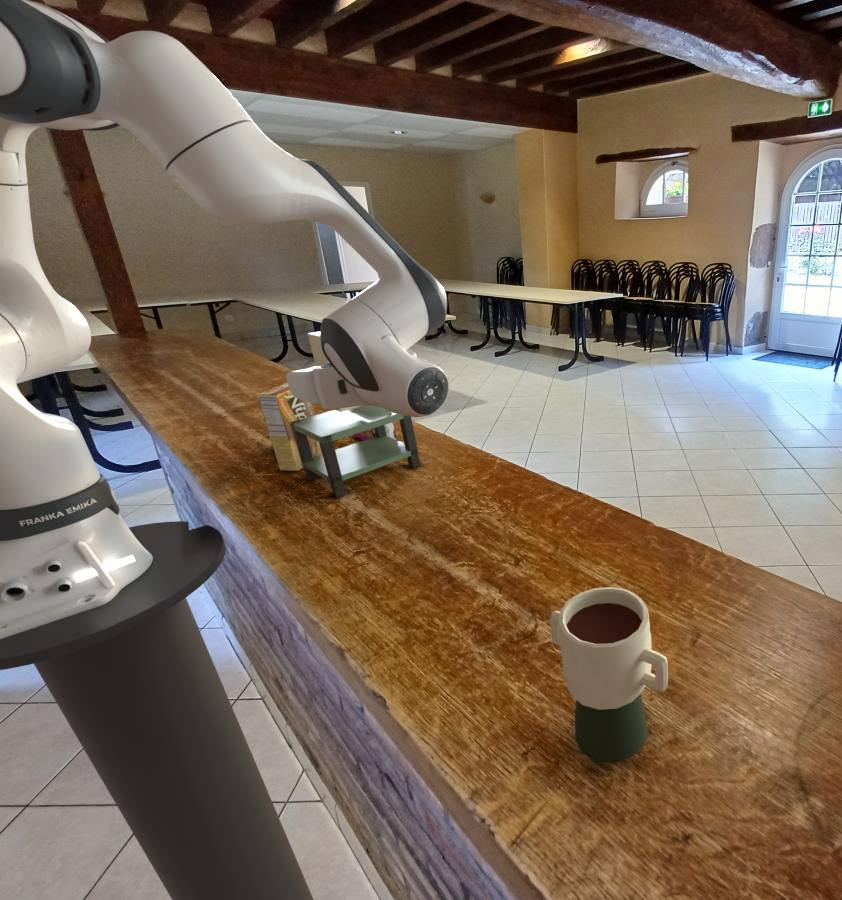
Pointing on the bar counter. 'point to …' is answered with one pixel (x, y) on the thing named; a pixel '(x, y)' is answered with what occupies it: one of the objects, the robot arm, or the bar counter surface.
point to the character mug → (608, 669)
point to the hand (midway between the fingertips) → (336, 366)
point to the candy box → (286, 425)
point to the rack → (357, 455)
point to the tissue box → (321, 357)
